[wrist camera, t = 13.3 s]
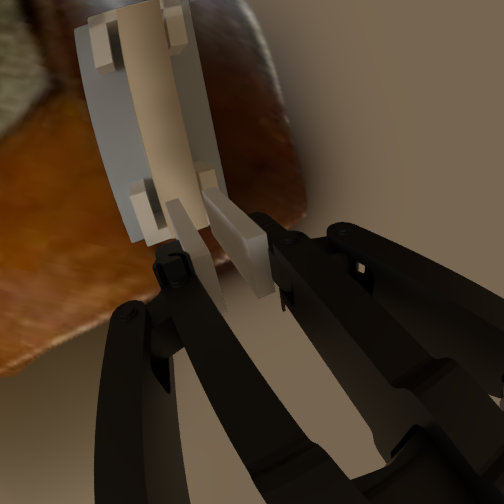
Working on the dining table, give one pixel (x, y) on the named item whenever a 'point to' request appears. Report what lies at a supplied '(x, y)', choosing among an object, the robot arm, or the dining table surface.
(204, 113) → the frame
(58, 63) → the dining table surface
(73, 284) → the dining table surface
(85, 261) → the dining table surface
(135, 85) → the slat
